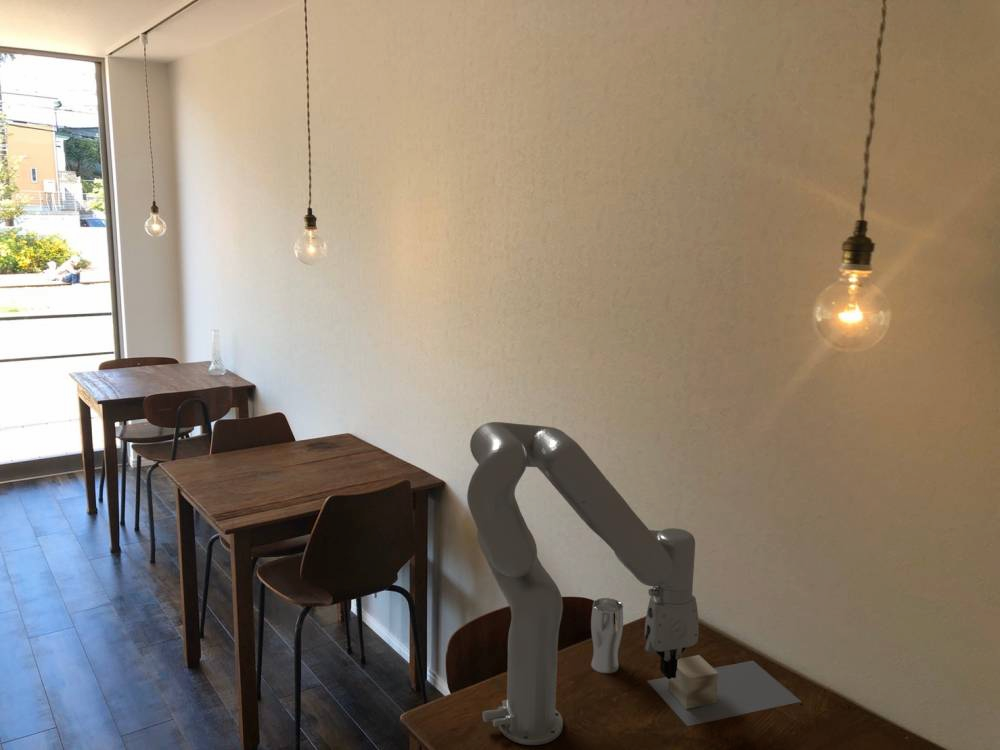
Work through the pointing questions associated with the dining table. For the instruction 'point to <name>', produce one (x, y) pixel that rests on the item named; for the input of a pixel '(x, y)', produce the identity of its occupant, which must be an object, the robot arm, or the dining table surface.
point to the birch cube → (694, 683)
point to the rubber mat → (732, 694)
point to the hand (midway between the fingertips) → (668, 674)
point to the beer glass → (606, 634)
